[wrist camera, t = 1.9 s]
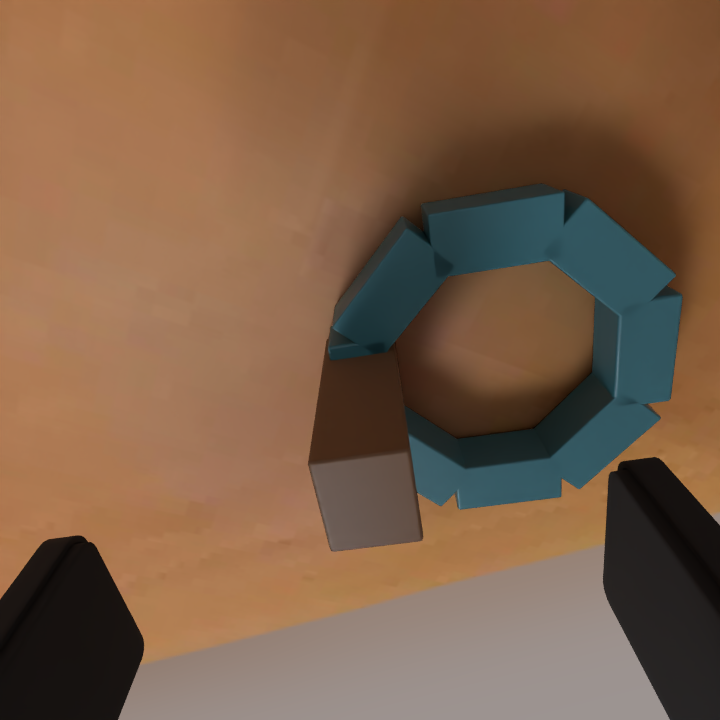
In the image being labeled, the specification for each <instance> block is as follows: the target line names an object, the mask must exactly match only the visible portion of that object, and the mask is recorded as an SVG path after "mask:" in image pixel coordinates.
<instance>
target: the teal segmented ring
mask: <svg viewBox="0 0 720 720" xmlns="http://www.w3.org/2000/svg"><path fill="white" fill-rule="evenodd" d="M421 212H422V221H423V231H424V232H423V231H422V230H421V229H419V228H418V227H417V226H415V225H414V224H413V223H411V222H410V221H409V220H407V219H406V218H405V217H403V216H402V217H400V219H399V220H398V222H397V223H396V224H395V226H394V227H393V228H392V230H391V231H390V232H389V234H388V235H387V236H386V238H385V239H384V241H383V242H382V243H381V245H380V246H379V247H378V249H377V250H376V251H375V253H374V254H373V255H372V257H371V258H370V260H369V261H368V262H367V264H366V265H365V266H364V268H363V269H362V270H361V272H360V273H359V275H358V276H357V277H356V279H355V280H354V281H353V283H352V284H351V285H350V287H349V288H348V289H347V291H346V292H345V294H344V295H343V296H342V298H341V299H340V300H339V302H338V303H337V304H336V306H335V310H334V317H333V325H332V326H331V329H330V336H329V339H327V341H326V348H325V355H324V361H323V368H322V375H321V381H320V388H319V395H318V401H317V408H316V415H315V421H314V428H313V435H312V441H311V448H310V455H309V461H308V466H309V470H310V473H311V477H312V481H313V485H314V489H315V493H316V497H317V500H318V504H319V508H320V512H321V516H322V520H323V524H324V527H325V531H326V535H327V539H328V543H329V547H330V549H331V551H334V552H335V551H343V550H351V549H360V548H368V547H376V546H385V545H393V544H401V543H410V542H418V541H422V539H423V531H422V524H421V517H420V510H419V503H418V496H417V493H419V494H421V495H422V496H424V497H426V498H427V499H429V500H431V501H433V502H434V503H436V504H438V505H439V506H442V505H443V504H444V503H445V502H446V501H447V500H448V499H449V498H450V497H451V496H452V495H453V494H454V493H455V497H456V502H457V506H458V508H459V509H460V510H461V509H469V508H477V507H485V506H493V505H501V504H509V503H517V502H525V501H533V500H541V499H549V498H558V497H561V478H562V479H564V480H565V481H567V482H569V483H570V484H572V485H573V486H575V487H576V488H578V489H580V488H582V487H583V486H584V485H585V484H586V483H587V482H588V481H590V480H591V479H592V478H593V477H594V476H595V475H596V474H598V473H599V472H600V471H601V470H602V469H603V468H605V467H606V466H607V465H608V464H609V463H610V462H611V461H613V460H614V459H615V458H616V457H617V456H618V455H619V454H621V453H622V452H623V451H624V450H625V449H626V448H628V447H629V446H630V445H631V444H632V443H633V442H634V441H636V440H637V439H638V438H639V437H640V436H641V435H642V434H644V433H645V432H646V431H647V430H648V429H649V428H651V427H652V426H653V425H654V424H655V423H656V422H657V421H659V420H660V416H659V415H658V414H657V413H656V412H655V411H654V410H653V409H652V408H651V407H650V406H649V405H648V403H656V402H663V401H669V400H670V399H671V392H672V383H673V375H674V366H675V358H676V349H677V341H678V332H679V324H680V315H681V306H682V298H683V297H682V294H681V293H679V292H677V291H676V290H674V289H672V288H670V287H669V286H667V284H668V283H669V282H670V281H671V280H672V279H673V278H674V277H675V276H676V274H675V273H674V272H673V271H672V270H671V269H670V268H669V267H667V266H666V265H665V264H664V263H663V262H662V261H661V260H659V259H658V258H657V257H656V256H655V255H654V254H652V253H651V252H650V251H649V250H648V249H647V248H646V247H644V246H643V245H642V244H641V243H640V242H639V241H637V240H636V239H635V238H634V237H633V236H632V235H630V234H629V233H628V232H627V231H626V230H625V229H624V228H622V227H621V226H620V225H619V224H618V223H617V222H615V221H614V220H613V219H612V218H611V217H610V216H608V215H607V214H606V213H605V212H604V211H603V210H602V209H600V208H599V207H598V206H597V205H596V204H595V203H593V202H592V201H591V200H590V199H589V198H586V197H584V196H581V195H578V194H576V193H573V192H571V191H568V190H565V189H564V190H562V191H560V190H558V189H555V188H553V187H550V186H548V185H545V184H542V183H541V184H535V185H529V186H523V187H517V188H511V189H505V190H499V191H494V192H488V193H482V194H476V195H470V196H464V197H458V198H452V199H446V200H440V201H434V202H428V203H422V204H421ZM543 261H550V262H551V263H553V264H554V265H555V266H556V267H558V268H559V269H560V270H561V271H563V272H564V273H565V274H567V275H568V276H569V277H570V278H572V279H573V280H574V281H575V282H577V283H578V284H579V285H580V286H582V287H583V288H584V289H585V290H587V291H588V292H589V293H590V294H592V295H593V296H594V297H595V313H594V339H593V366H592V373H591V374H590V375H589V376H588V377H587V378H586V379H585V380H584V381H583V382H582V383H581V384H580V385H579V386H577V387H576V388H575V389H574V390H573V391H572V392H571V393H570V394H569V395H568V396H567V397H566V398H565V399H564V400H563V401H562V402H561V403H560V404H559V405H558V406H557V407H556V408H555V409H554V410H553V411H552V412H551V413H550V414H549V415H548V416H547V417H545V418H544V419H543V420H542V421H541V422H540V423H539V424H538V425H537V426H536V427H535V428H534V429H528V430H520V431H513V432H505V433H498V434H490V435H483V436H475V437H468V438H461V439H456V438H455V437H453V436H452V435H450V434H449V433H447V432H445V431H444V430H442V429H441V428H439V427H437V426H436V425H434V424H433V423H431V422H430V421H428V420H426V419H425V418H423V417H422V416H420V415H419V414H417V413H415V412H414V411H412V410H411V409H409V408H408V407H406V406H404V401H403V394H402V387H401V381H400V374H399V367H398V360H397V354H396V347H395V341H396V340H397V339H398V337H399V336H400V335H401V334H402V332H403V331H404V330H405V329H406V328H407V326H408V325H409V324H410V323H411V321H412V320H413V319H414V318H415V317H416V315H417V314H418V313H419V312H420V310H421V309H422V308H423V307H424V305H425V304H426V303H427V302H428V301H429V299H430V298H431V297H432V296H433V294H434V293H435V292H436V291H437V290H438V288H439V287H440V286H441V285H442V283H443V282H444V281H445V280H446V279H447V277H448V276H455V275H461V274H467V273H474V272H480V271H486V270H493V269H499V268H505V267H512V266H518V265H524V264H531V263H537V262H543Z"/></svg>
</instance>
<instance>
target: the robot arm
mask: <svg viewBox="0 0 720 720" xmlns="http://www.w3.org/2000/svg"><path fill="white" fill-rule="evenodd" d="M603 584H604V590H605V593H606V597H607V600H608V601H609V604H610V606H611V608H612V610H613V612H614V614H615V615H616V617H617V619H618V621H619V623H620V625H621V627H622V629H623V631H624V633H625V634H626V636H627V638H628V640H629V642H630V644H631V646H632V648H633V650H634V652H635V654H636V655H637V657H638V659H639V661H640V663H641V665H642V667H643V669H644V671H645V673H646V675H647V676H648V679H649V680H650V682H651V684H652V686H653V688H654V690H655V692H656V694H657V696H658V698H659V699H660V701H661V703H662V705H663V707H664V709H665V711H666V713H667V715H668V717H669V719H670V720H720V525H719V524H718V523H717V522H716V521H715V520H714V518H713V517H712V516H711V515H710V514H709V513H708V512H707V511H706V509H705V508H704V507H703V506H702V505H701V504H700V503H699V502H698V501H697V499H696V498H695V497H694V496H693V495H692V494H691V493H690V492H689V490H688V489H687V488H686V487H685V486H684V485H683V484H682V483H681V482H680V480H679V479H678V478H677V477H676V476H675V475H674V474H673V473H672V471H671V470H670V469H669V468H668V467H667V466H666V465H665V464H664V462H662V461H661V460H660V459H659V458H656V457H652V458H644V459H637V460H630V461H623V462H620V464H619V466H618V471H613V472H610V474H609V480H608V499H607V517H606V535H605V554H604V573H603ZM143 652H144V641H143V637H142V635H141V633H140V631H139V629H138V627H137V625H136V623H135V621H134V619H133V617H132V615H131V613H130V611H129V610H128V608H127V606H126V604H125V602H124V600H123V598H122V596H121V594H120V592H119V590H118V588H117V586H116V584H115V583H114V581H113V579H112V577H111V575H110V573H109V571H108V569H107V567H106V565H105V563H104V561H103V559H102V557H101V556H100V554H99V552H98V550H97V548H96V546H95V545H94V544H93V543H91V542H88V541H87V540H86V539H85V538H84V537H82V536H70V537H63V538H55V539H49V540H47V541H45V542H43V543H42V544H41V545H40V546H39V548H38V549H37V551H36V552H35V553H34V555H33V556H32V557H31V559H30V560H29V561H28V563H27V564H26V565H25V567H24V568H23V570H22V571H21V572H20V574H19V575H18V576H17V578H16V579H15V580H14V582H13V583H12V584H11V586H10V587H9V588H8V590H7V591H6V593H5V594H4V595H3V597H2V598H1V599H0V720H118V718H119V715H120V713H121V710H122V708H123V705H124V703H125V700H126V698H127V695H128V693H129V690H130V687H131V685H132V683H133V680H134V678H135V675H136V672H137V670H138V667H139V665H140V662H141V660H142V656H143Z"/></svg>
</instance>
